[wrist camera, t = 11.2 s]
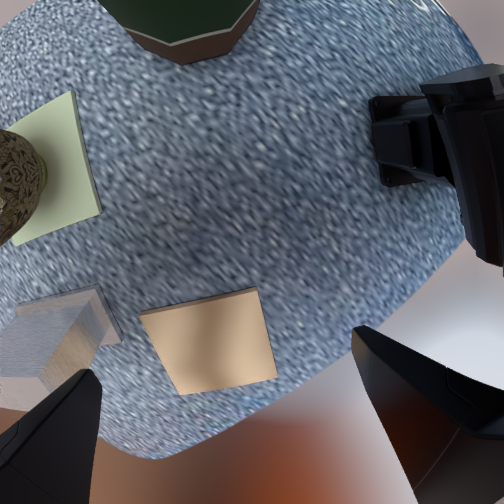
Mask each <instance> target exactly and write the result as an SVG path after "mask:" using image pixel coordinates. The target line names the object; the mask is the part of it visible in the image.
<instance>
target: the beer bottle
mask: <svg viewBox="0 0 504 504" xmlns="http://www.w3.org/2000/svg"><path fill="white" fill-rule="evenodd" d="M97 1H98V2H99V3H100V4H101V5H102V6H103V7H104V8H105V9H106V10H107V11H108V12H109V13H110V14H111V15H112V16H113V17H114V19H115V20H116V21H117V22H118V23H119V24H120V25H121V26H122V27H123V28H124V29H125V30H126V31H127V33H128V34H129V35H130V36H131V37H132V38H133V39H134V40H135V41H136V42H137V43H138V44H139V45H140V46H141V47H143V48H144V49H145V50H148V51H150V52H153V53H155V54H157V55H160V56H162V57H165V58H167V59H169V60H172V61H174V62H176V63H178V64H181V65H185V64H188V63H192V62H195V61H199V60H203V59H207V58H211V57H215V56H219V55H223V54H228V53H229V51H230V50H231V49H232V47H233V46H234V45H235V43H236V42H237V41H238V39H239V38H240V37H241V35H242V34H243V33H244V32H245V30H246V29H247V28H248V26H249V25H250V24H251V23H252V21H253V19H254V17H255V14H256V12H257V9H258V6H259V2H260V0H97Z"/></svg>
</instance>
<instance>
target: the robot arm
mask: <svg viewBox="0 0 504 504" xmlns="http://www.w3.org/2000/svg"><path fill="white" fill-rule="evenodd" d="M419 87H420V89H421V92H422V94H425V96H376V97H372V98H371V99H370V101H369V106H370V111H371V116H372V121H373V125H372V131H373V137H374V143H375V150H376V157H377V161H378V162H379V167H380V175H381V182H382V184H383V185H384V186H386V187H395V186H400V185H406V184H412V183H417V182H423V181H429V182H433V183H436V184H440V185H443V186H447V187H450V188H453V189H456V192H457V196H458V201H459V206H460V211H461V215H460V218H461V223H462V225H463V226H464V229H465V235H466V239H467V241H468V242H469V243H470V245H471V246H472V247H473V249H475V250H476V256H477V257H479V258H480V259H482V260H483V261H485V262H487V263H490V264H492V265H496V266H498V267H503V277H504V66H502V65H498V64H493V63H492V64H485V65H479V66H473V67H468V68H464V69H461V70H458V71H455V72H452V73H449V74H446V75H443V76H440V77H437V78H434V79H432V80H429V81H426V82H424V83H421V84H419ZM375 101H377V102H378V107H377V106H376V105H375ZM388 177H389V178H390V181H389V183H387V178H388ZM351 349H352V354H353V356H354V359H355V362H356V365H357V368H358V370H359V373H360V376H361V379H362V381H363V385H364V387H365V390H366V392H367V394H368V397H369V398H370V400H371V402H372V405H373V406H374V408H375V410H376V412H377V415H378V417H379V419H380V421H381V423H382V425H383V427H384V429H385V431H386V433H387V435H388V437H389V440H390V442H391V444H392V446H393V448H394V450H395V452H396V454H397V457H398V459H399V461H400V463H401V465H402V468H403V470H404V472H405V474H406V476H407V479H408V481H409V483H410V485H411V488H412V490H413V492H414V495H415V497H416V499H417V502H418V504H504V390H501V389H498V388H495V387H493V386H489V385H487V384H484V383H482V382H479V381H476V380H474V379H472V378H469V377H467V376H465V375H463V374H460V373H458V372H456V371H454V370H452V369H450V368H448V367H447V368H446V367H445V366H444V365H442V364H440V363H438V362H436V361H434V360H432V359H430V358H428V357H426V356H424V355H422V354H420V353H418V352H416V351H414V350H412V349H410V348H408V347H407V346H405V345H402V344H401V343H399V342H397V341H395V340H393V339H391V338H389V337H387V336H385V335H383V334H381V333H379V332H377V331H376V330H374V329H372V328H370V327H368V326H366V325H361V326H358V327H354V328H353V329H352V342H351ZM101 400H102V385H101V383H100V382H99V380H98V379H97V377H96V376H95V374H94V372H93V371H92V370H91V369H80V370H79V371H77V372H76V373H75V374H74V375H73V376H71V377H70V378H69V379H68V380H66V381H65V382H64V383H63V384H61V385H60V386H59V387H58V388H57V389H55V390H54V391H53V392H52V393H51V394H49V395H48V396H47V397H46V398H44V399H43V400H42V401H41V402H40V403H38V404H37V405H36V406H35V407H34V408H32V409H31V410H30V411H29V412H28V413H26V414H25V415H24V416H23V417H22V418H21V419H20V420H18V421H17V422H16V423H14V424H13V425H12V426H11V427H10V428H8V429H7V430H6V431H5V432H3V433H2V434H1V435H0V504H89V497H90V486H91V477H92V469H93V461H94V454H95V447H96V441H97V435H98V430H99V422H100V410H101Z"/></svg>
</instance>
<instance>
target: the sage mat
mask: <svg viewBox="0 0 504 504" xmlns="http://www.w3.org/2000/svg"><path fill="white" fill-rule="evenodd" d="M6 131H11V132H14V133H16V134H19V135H21V136H23V137H24V138H25V139H27V140H28V141H29V142H30V143H31V144H32V145H33V147H34V148H35V150H36V152H37V153H38V154H39V155H41V157H42V158H43V159H44V161H45V163H46V166H47V171H48V178H47V183H46V186H45V189H44V191H43V192H42V194H41V197H40V200H39V203H38V206H37V208H36V210H35V211H34V213H33V215H32V216H31V218H30V219H29V220H28V222H27V223H26V224H25V225H24V226H23V227H22V228H21V229H20V230H19V231H18V232H17V233H16V234H14V235H13V236H12V240H13V242H14V245H15V246H18V245H20V244H22V243H25V242H27V241H30V240H32V239H35V238H37V237H40V236H42V235H45V234H47V233H50V232H52V231H55V230H57V229H60V228H63V227H65V226H68V225H71V224H74V223H76V222H79V221H82V220H85V219H87V218H90V217H93V216H96V215H99V214H101V213H103V211H102V207H101V204H100V201H99V198H98V194H97V191H96V187H95V184H94V180H93V176H92V173H91V169H90V165H89V161H88V157H87V153H86V148H85V144H84V140H83V135H82V130H81V125H80V120H79V115H78V109H77V104H76V98H75V92H74V91H69V92H67V93H65V94H63V95H61V96H59V97H57V98H56V99H54V100H52V101H50V102H48V103H47V104H45V105H43V106H41V107H40V108H38V109H36V110H35V111H33V112H32V113H30V114H28V115H27V116H25V117H24V118H22V119H21V120H19V121H18V122H16V123H15V124H13V125H12V126H10V127H9V128H7V129H6Z"/></svg>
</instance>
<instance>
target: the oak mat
mask: <svg viewBox="0 0 504 504" xmlns="http://www.w3.org/2000/svg"><path fill="white" fill-rule="evenodd" d="M139 317H140V319H141V321H142V323H143V325H144V328H145V330H146V332H147V334H148V336H149V338H150V340H151V342H152V344H153V346H154V348H155V350H156V352H157V354H158V356H159V358H160V360H161V361H162V363H163V365H164V367H165V369H166V371H167V373H168V374H169V376H170V378H171V380H172V382H173V383H174V385H175V387H176V389H177V390H178V392H179V394H180V395H184V394H192V393H199V392H206V391H212V390H218V389H224V388H230V387H235V386H240V385H245V384H250V383H255V382H260V381H264V380H269V379H273V378H278V375H277V370H276V366H275V362H274V358H273V354H272V350H271V346H270V341H269V337H268V333H267V329H266V325H265V321H264V317H263V312H262V308H261V304H260V300H259V296H258V291H257V287H253V288H249V289H245V290H240V291H236V292H232V293H227V294H223V295H218V296H214V297H209V298H205V299H200V300H196V301H191V302H186V303H182V304H177V305H172V306H167V307H162V308H158V309H153V310H148V311H143V312H141V313H140V315H139Z"/></svg>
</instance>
